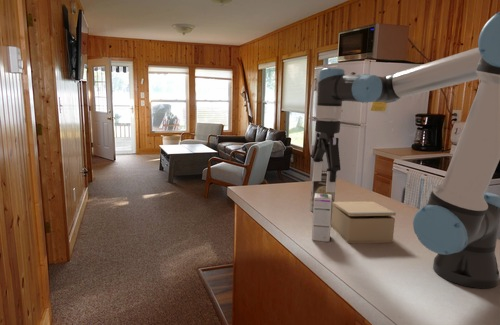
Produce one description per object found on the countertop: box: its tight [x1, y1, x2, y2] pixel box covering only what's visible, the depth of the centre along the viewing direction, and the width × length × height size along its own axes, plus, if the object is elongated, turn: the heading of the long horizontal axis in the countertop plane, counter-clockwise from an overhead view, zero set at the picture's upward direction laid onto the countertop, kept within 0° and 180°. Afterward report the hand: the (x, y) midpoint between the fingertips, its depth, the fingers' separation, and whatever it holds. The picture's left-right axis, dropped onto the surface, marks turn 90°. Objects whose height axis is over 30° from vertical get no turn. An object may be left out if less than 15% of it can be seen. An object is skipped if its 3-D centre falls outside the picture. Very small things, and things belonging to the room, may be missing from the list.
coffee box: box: [309, 170, 338, 214], centre depth 147 cm, size 9×6×16 cm
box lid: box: [332, 200, 397, 217], centre depth 122 cm, size 16×15×1 cm
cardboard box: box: [331, 204, 396, 244], centre depth 123 cm, size 16×15×8 cm
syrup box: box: [311, 193, 332, 243], centre depth 117 cm, size 6×6×14 cm
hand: (323, 186), depth 116 cm, fingers open, 13 cm apart
